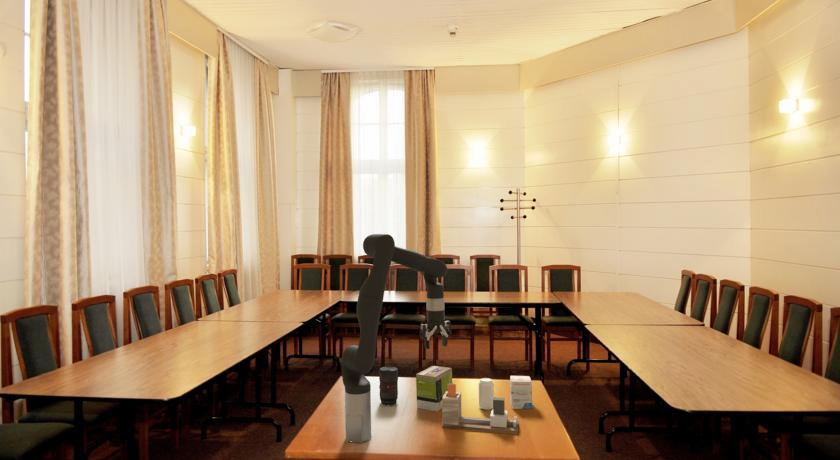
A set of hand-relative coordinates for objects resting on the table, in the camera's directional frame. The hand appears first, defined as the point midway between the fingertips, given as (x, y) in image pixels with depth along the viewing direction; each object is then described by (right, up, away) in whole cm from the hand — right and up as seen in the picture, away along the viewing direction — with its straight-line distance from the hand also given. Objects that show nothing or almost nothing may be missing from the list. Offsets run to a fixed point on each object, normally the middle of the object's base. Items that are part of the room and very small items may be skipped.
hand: (436, 347), depth 217 cm
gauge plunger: (+6, -21, -16) cm, 27 cm away
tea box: (0, -26, +7) cm, 27 cm away
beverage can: (+21, -26, +1) cm, 33 cm away
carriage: (+23, -24, -20) cm, 39 cm away
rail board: (+16, -26, -18) cm, 36 cm away
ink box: (+36, -26, +4) cm, 45 cm away
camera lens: (-20, -26, +9) cm, 35 cm away
